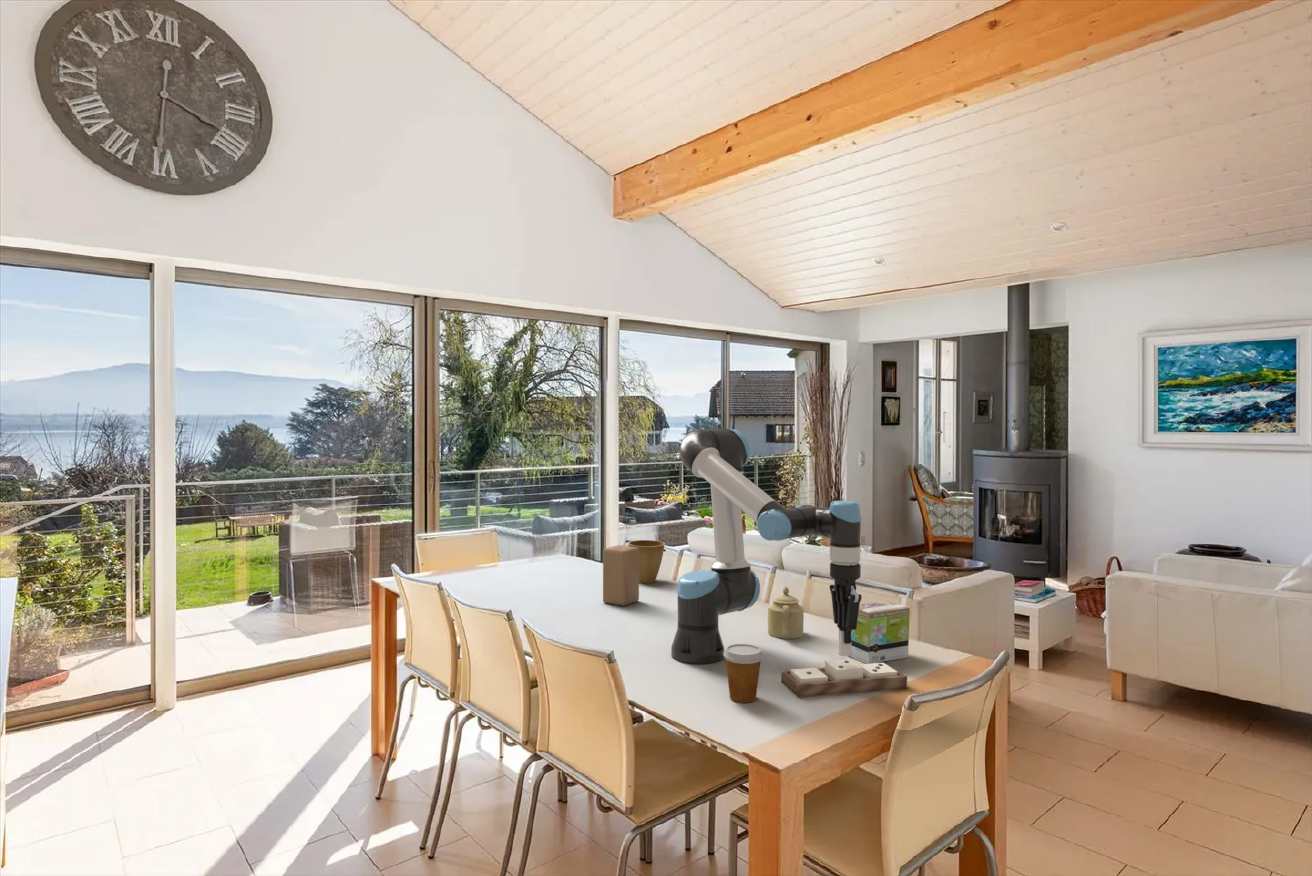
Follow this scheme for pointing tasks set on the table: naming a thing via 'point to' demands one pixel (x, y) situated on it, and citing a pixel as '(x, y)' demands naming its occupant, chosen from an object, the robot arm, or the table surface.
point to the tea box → (880, 632)
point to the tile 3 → (878, 670)
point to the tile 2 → (843, 670)
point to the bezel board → (843, 684)
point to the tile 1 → (808, 675)
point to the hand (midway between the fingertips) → (844, 654)
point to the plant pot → (648, 559)
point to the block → (620, 575)
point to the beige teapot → (785, 617)
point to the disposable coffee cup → (743, 671)
